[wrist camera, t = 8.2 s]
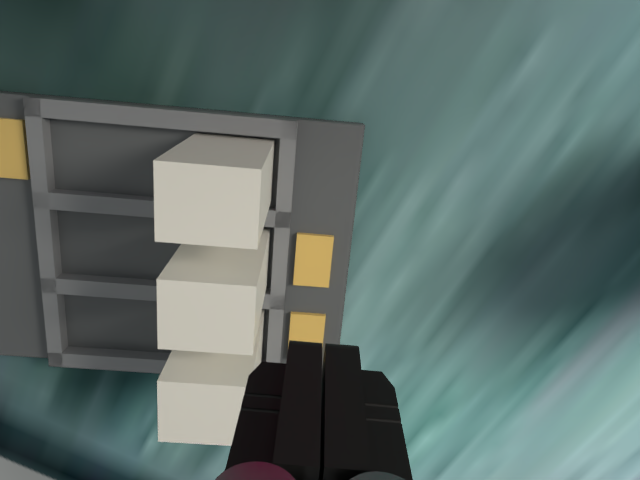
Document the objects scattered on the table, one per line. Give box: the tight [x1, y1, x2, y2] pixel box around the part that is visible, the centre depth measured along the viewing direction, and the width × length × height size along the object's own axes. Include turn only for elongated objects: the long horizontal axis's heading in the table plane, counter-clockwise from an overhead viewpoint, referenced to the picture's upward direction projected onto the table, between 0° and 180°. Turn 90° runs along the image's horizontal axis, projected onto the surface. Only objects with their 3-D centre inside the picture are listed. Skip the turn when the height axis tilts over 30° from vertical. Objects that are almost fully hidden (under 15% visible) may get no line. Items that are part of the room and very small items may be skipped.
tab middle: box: [156, 228, 270, 355], centre depth 25 cm, size 4×3×8 cm
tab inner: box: [153, 133, 275, 250], centre depth 23 cm, size 4×3×8 cm
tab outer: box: [157, 309, 265, 446], centre depth 26 cm, size 4×3×8 cm
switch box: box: [0, 91, 365, 374], centre depth 28 cm, size 20×15×2 cm
